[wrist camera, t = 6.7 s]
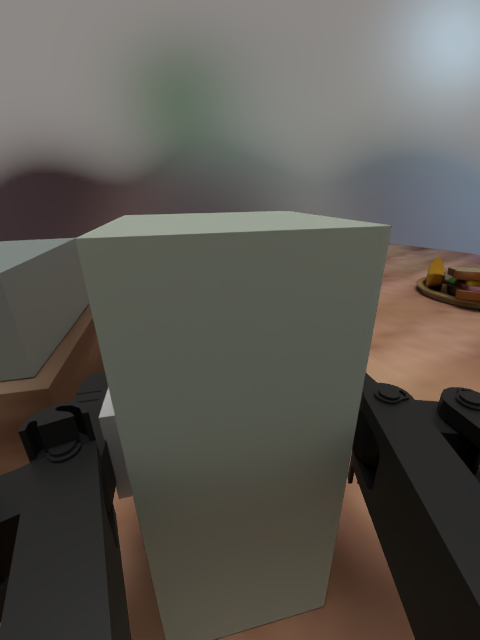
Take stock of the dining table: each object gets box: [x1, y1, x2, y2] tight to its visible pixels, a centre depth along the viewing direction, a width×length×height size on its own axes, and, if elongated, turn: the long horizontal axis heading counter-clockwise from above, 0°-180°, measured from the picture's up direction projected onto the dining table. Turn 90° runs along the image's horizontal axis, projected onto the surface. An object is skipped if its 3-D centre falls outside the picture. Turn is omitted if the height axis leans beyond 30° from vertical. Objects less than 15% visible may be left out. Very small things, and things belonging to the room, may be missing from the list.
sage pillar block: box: [75, 211, 392, 640], centre depth 9 cm, size 5×5×12 cm
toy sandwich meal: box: [417, 258, 480, 309], centre depth 38 cm, size 12×14×5 cm
